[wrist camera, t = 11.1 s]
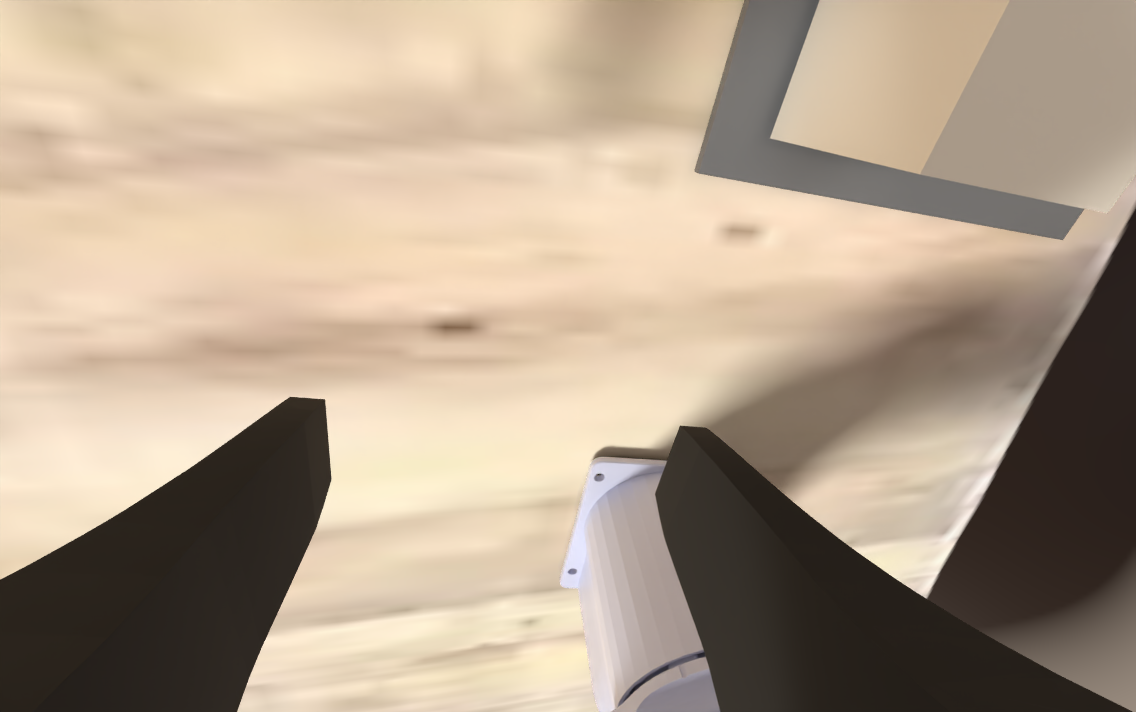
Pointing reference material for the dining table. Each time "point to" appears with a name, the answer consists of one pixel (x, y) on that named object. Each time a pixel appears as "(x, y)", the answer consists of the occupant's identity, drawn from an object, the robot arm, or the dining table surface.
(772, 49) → the base board
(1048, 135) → the beige block
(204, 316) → the dining table surface
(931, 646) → the robot arm
